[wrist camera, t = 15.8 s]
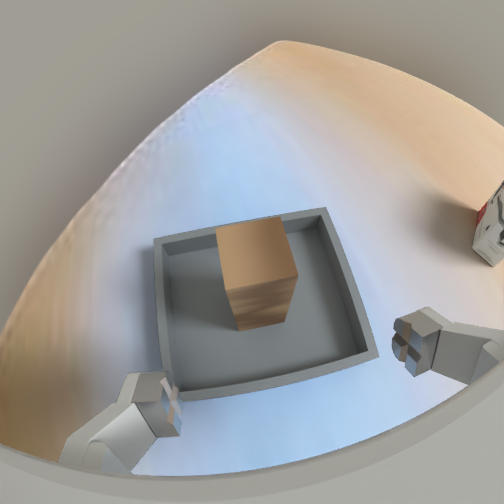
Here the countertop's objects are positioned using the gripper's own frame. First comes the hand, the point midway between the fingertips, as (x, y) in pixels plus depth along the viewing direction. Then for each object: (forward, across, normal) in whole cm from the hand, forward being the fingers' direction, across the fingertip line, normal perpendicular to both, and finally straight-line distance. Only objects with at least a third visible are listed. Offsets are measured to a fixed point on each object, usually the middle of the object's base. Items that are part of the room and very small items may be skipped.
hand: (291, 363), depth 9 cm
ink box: (+16, -33, +5) cm, 37 cm away
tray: (+15, 0, +6) cm, 16 cm away
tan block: (+15, 0, +5) cm, 16 cm away
